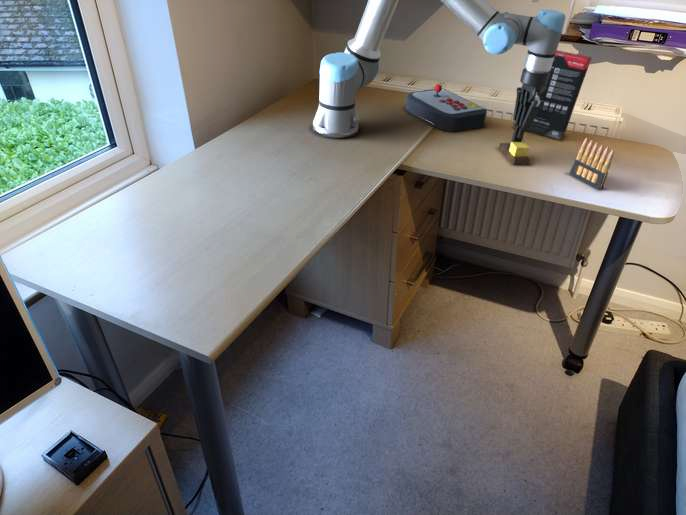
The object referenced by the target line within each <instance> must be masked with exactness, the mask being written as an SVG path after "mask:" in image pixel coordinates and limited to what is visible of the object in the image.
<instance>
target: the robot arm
mask: <svg viewBox="0 0 686 515" xmlns="http://www.w3.org/2000/svg"><path fill="white" fill-rule="evenodd" d="M440 2H442V3H443V4H444V5H445V7H447V8H448V9H449V10H450V11H451V12H452V13H453V14H455V16H456V17H458V19H459V20H461V21H462V23H464V24H465V26H467V27H468V28H469V29H470V30H471V31H472V32H473V33H474V34H475V35H476V36H478V38H479V39H480V40H481V41H482V43H483V47H484V49H485V50H486V52H488V53H489V54H490V55H496V56H499V55H503V54H504V53H507V52H508V51H509V50H511V49H512V48H513V47H514V45H519V46H524V47H528V49H527V52H526V55H525V56H526V57H525V60H524V64H523V67H524V68H523V69H522V71H521V76H520V79H519V81H520V83H521V84H522V85H521V87H519V86H517V87H516V97H515V103H514V111H513V118H512V121H514V125H516V126H515V127H514V130H513V134H512V136H511V137H512V138H511V140H510V143H511V142H523V139H524V136H525V132H526V130H525V129H526V128H531V126H532V123H533V121H534V119H535V117H536V115H537V112H538V110H539V108H540V107H541V105H542V104H543V101H542V100H540V99H539V96H540V92H541V88H542V87H543V86H545V85H546V84H547V81H548V78H549V71H550V70H551V67H552V63H553V61H554V57H555V54H556V51H557V50H558V47H559V44H560V41H561V39H562V35H563V31H564V26H565V22H566V15H565V13H564V12H562V11H559V10H554V9H540V10H538V12H537V14H536V16H529V15H523V14H518V13H517V14H516V13H511V12H508V11H505V12H504V11H503V12H502V11H499V10H498V9H497V8H496V7H495V6H494V5H493V4H492V3H491V2H490V1H488V0H440ZM398 3H399V0H367V4H366V6H365V9H364V11H363V14H362V17H361V19H360V22H359V25H358V28H357V30H356V33H355V36H354V38H352V39H349V40H348V41H347V44H346V46H345V49H344V52H342V51H341V52H335V53H333V52H332V53H328V54H327V55H325V56H324V57H323V58H322V59H321V61H320V67H319V96H318V98H319V99H318V108H317V110H316V114H315V116H314V119H313V121H312V130H313V132H314V133H316V134H317V135H319V136H322V137H325V138H330V139H347V138H352V137H354V136H356V135H357V134H358V133H359V127H360V126H359V121H358V115H357V113H356V108H355V107H356V96H357V95H356V94H357V93H356V92H358V91H359V90H361V89H363V88H364V87H366V86H368V85H370V84H371V83H372V82H373V81H374V80H375V78H376V77H377V75H378V74H379V70H380V59H381V56H382V54H381V51H380V47H381V45H382V42H383V40H384V37H385V34H386V33H387V29H388V27H389V25H390V22H391V21H392V17H393V16H394V13H395V11H396V8H397V6H398ZM510 145H511V144H510Z"/></svg>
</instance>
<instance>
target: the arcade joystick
mask: <svg viewBox="0 0 686 515" xmlns="http://www.w3.org/2000/svg"><path fill="white" fill-rule="evenodd" d="M404 109H405V110H406V111H407V112H408V113H410V114H412V115H413V116H415V117H417V118H418V119H420V120H422V121H424V122H425V123H427V124H429V125H431V126H432V127H434V128H436V129H440V130H443V131H447V132H459V131H466V130H472V129H479V128H484V125H485V121H486V116H487V113H488V109H487V108H485V107H483V106H481V105H478V104H476V103H474V102H472V101H470V100H468V99H466V98H464V97H462V96H460V95H458V94H456V93H454V92H451V91H450V90H447V89H446V88H443V86H442V84H440V83H439V84H435V85H434V87H433V88H431V89H430V88H429V89H424V90H418V91H417V90H416V91H411V92H408V93H407V95H406V100H405V108H404ZM419 116H420V117H419ZM421 117H422V118H421ZM423 118H424V119H423ZM425 119H426V120H428V121H430V122H432V123H433V124H434V125H433V124H432V123H430V122H428V121H426V120H425Z"/></svg>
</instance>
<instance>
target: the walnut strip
mask: <svg viewBox="0 0 686 515" xmlns="http://www.w3.org/2000/svg"><path fill="white" fill-rule="evenodd" d="M510 144H511V142H500V143H499V145H498V150H499V151H500V152H501V153H502V155H504V157H505V158H506V159H507V160H508V161H509V162H510V163H511V164H512V165H513V166H529V165H530V161H531V158H530V157H529V156H528V155H527V157H514V156H513V155H512V154H511V153H510V152H509V149H510Z"/></svg>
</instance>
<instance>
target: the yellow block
mask: <svg viewBox="0 0 686 515" xmlns="http://www.w3.org/2000/svg"><path fill="white" fill-rule="evenodd" d="M510 143H511V145H510V149H509V152H510V153H511V154H512V155H513V156H514V157H527V156H528V154H529V150H530V146H529V145H528V144H527V143H526V142H524V141H522V142H511V141H510Z"/></svg>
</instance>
